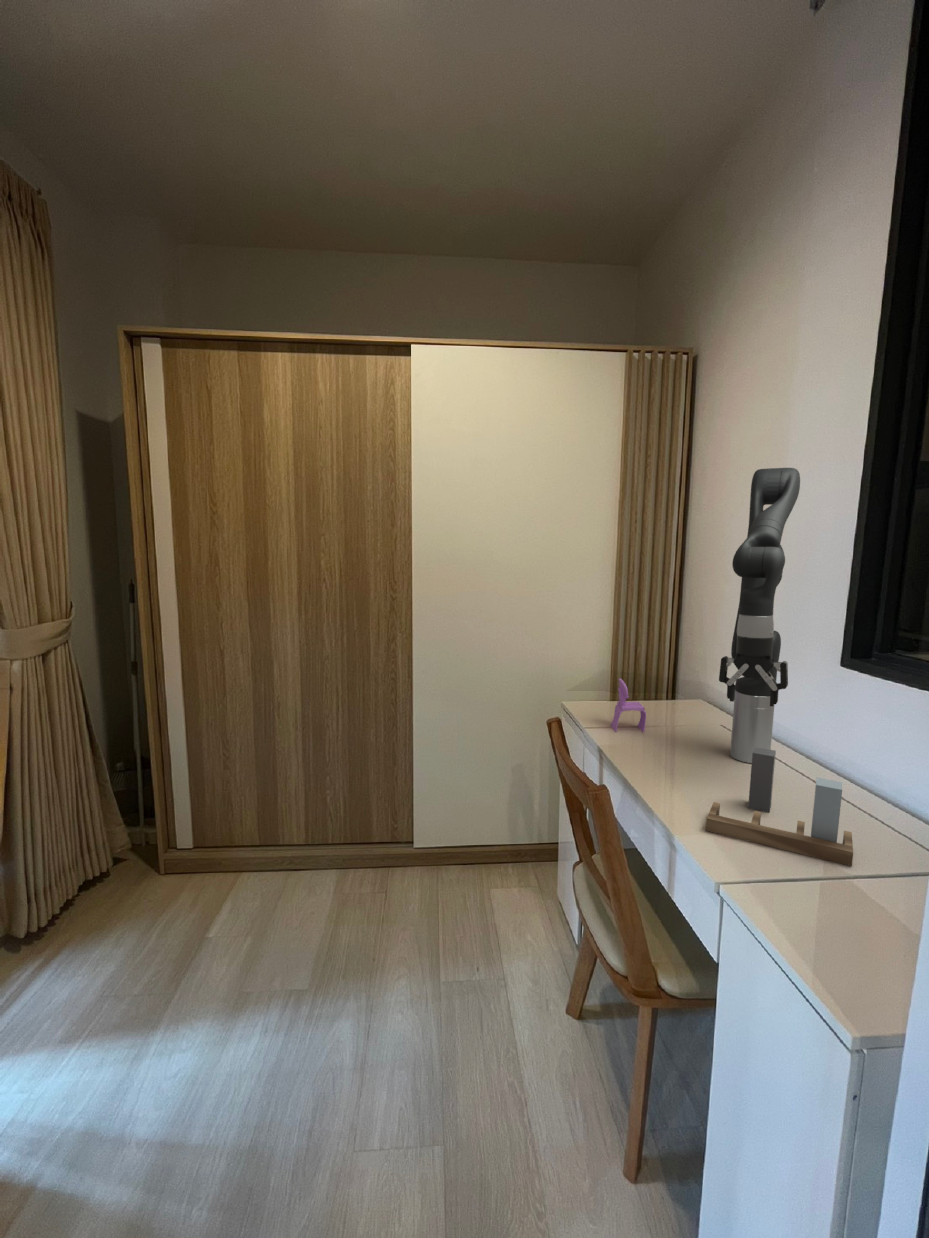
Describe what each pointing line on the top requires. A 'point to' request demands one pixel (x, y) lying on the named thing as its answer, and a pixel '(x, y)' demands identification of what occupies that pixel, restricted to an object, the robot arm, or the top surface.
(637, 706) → the toy chair
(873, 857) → the top surface
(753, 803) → the grey tall rectangular block
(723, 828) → the cable comb
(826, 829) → the slate plug
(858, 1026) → the top surface
